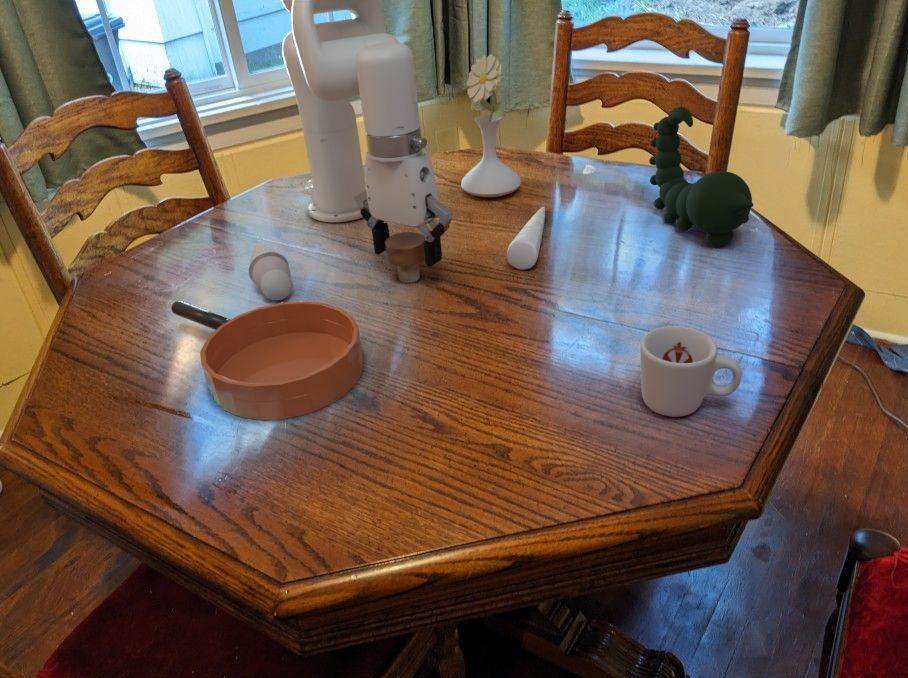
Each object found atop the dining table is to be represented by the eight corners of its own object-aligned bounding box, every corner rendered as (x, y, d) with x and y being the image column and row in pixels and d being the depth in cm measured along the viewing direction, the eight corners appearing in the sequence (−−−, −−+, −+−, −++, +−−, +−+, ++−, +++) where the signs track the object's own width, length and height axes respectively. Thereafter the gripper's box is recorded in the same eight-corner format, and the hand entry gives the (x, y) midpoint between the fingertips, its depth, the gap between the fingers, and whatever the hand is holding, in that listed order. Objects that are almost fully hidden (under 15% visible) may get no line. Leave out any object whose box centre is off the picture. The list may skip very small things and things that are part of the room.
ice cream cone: (262, 263, 119) (287, 315, 110) (228, 250, 115) (251, 303, 106) (281, 232, 117) (308, 283, 108) (247, 218, 113) (272, 269, 103)
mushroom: (382, 281, 112) (376, 244, 108) (406, 266, 116) (401, 228, 112) (413, 290, 109) (408, 252, 105) (436, 274, 113) (433, 236, 109)
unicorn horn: (564, 210, 129) (565, 184, 126) (536, 272, 111) (536, 243, 108) (538, 209, 130) (538, 183, 128) (506, 270, 112) (505, 241, 109)
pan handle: (170, 315, 101) (166, 303, 100) (182, 309, 102) (178, 297, 101) (228, 338, 95) (224, 325, 94) (240, 331, 96) (236, 318, 95)
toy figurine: (633, 218, 128) (718, 265, 108) (637, 106, 119) (731, 133, 98) (680, 209, 130) (773, 253, 110) (688, 98, 121) (791, 123, 100)
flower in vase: (455, 185, 143) (445, 48, 128) (511, 177, 144) (507, 40, 130) (472, 210, 132) (464, 63, 118) (532, 200, 134) (531, 55, 120)
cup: (735, 391, 84) (747, 332, 79) (732, 434, 78) (745, 373, 73) (639, 378, 87) (645, 320, 82) (630, 419, 81) (635, 359, 76)
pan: (179, 389, 91) (167, 356, 89) (288, 320, 104) (281, 289, 101) (287, 439, 82) (278, 404, 79) (393, 356, 94) (389, 323, 92)
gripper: (461, 141, 98) (469, 258, 108) (364, 128, 107) (379, 237, 116) (428, 158, 93) (440, 278, 103) (329, 143, 102) (348, 256, 112)
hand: (408, 256), depth 110 cm, fingers open, 9 cm apart
